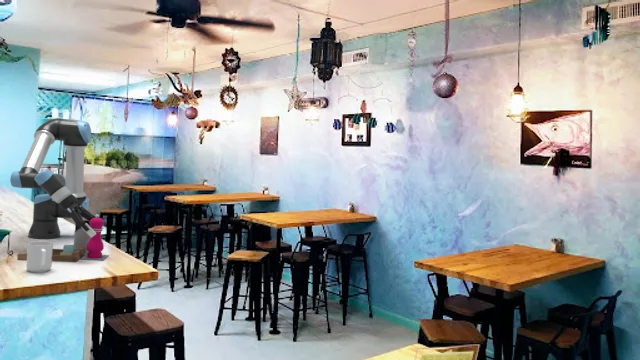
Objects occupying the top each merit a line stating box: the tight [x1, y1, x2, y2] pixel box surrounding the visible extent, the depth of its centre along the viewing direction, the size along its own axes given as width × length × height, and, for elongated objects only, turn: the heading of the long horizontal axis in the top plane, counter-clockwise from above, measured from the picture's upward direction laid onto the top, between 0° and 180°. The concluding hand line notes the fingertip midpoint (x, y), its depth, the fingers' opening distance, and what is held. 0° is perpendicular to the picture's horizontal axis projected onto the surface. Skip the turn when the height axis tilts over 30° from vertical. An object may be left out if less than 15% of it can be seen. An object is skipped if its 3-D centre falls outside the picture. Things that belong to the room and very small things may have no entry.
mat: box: [79, 254, 110, 261], centre depth 223 cm, size 10×10×1 cm
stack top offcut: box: [62, 244, 74, 253], centre depth 218 cm, size 4×4×3 cm
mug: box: [25, 240, 54, 273], centre depth 194 cm, size 12×9×11 cm
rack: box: [16, 247, 86, 263], centre depth 217 cm, size 14×24×4 cm, turn 101°
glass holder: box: [73, 219, 91, 255], centre depth 234 cm, size 9×14×15 cm, turn 27°
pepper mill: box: [87, 213, 105, 258], centre depth 223 cm, size 7×7×20 cm
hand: (97, 233), depth 223 cm, fingers open, 13 cm apart
